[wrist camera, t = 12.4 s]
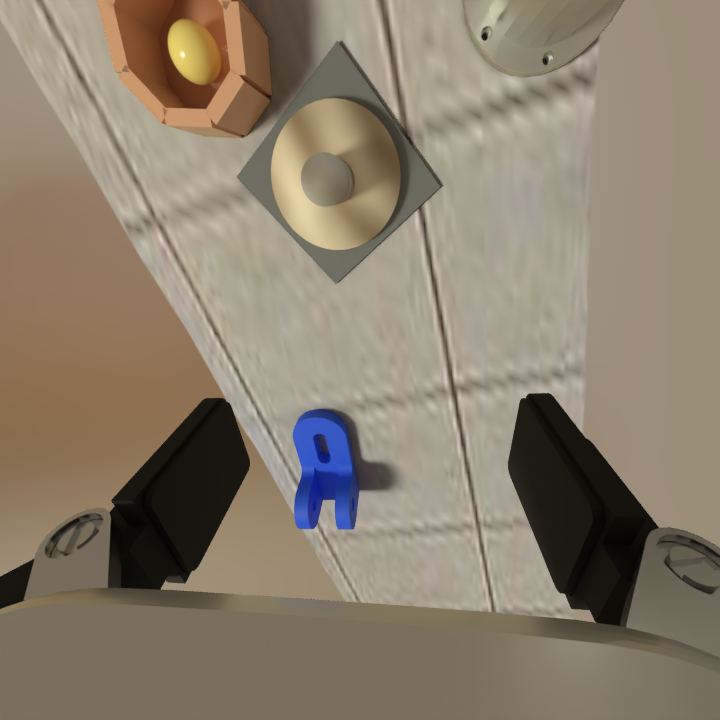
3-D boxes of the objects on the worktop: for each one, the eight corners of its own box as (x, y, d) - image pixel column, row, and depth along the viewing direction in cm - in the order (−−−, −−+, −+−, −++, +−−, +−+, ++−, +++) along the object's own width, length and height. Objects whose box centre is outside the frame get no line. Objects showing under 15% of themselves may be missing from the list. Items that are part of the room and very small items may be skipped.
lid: (336, 62, 28) (321, 28, 22) (426, 185, 31) (434, 184, 26) (250, 178, 33) (218, 176, 27) (336, 272, 36) (326, 287, 31)
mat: (337, 42, 27) (337, 40, 27) (439, 186, 32) (440, 186, 31) (238, 177, 33) (236, 177, 33) (336, 283, 37) (335, 284, 37)
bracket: (359, 489, 55) (353, 539, 47) (314, 489, 56) (301, 538, 48) (344, 407, 47) (334, 451, 39) (291, 409, 48) (271, 453, 40)
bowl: (195, -60, 25) (143, -126, 20) (294, 68, 28) (271, 40, 23) (135, 64, 29) (78, 36, 24) (226, 163, 32) (194, 158, 27)
